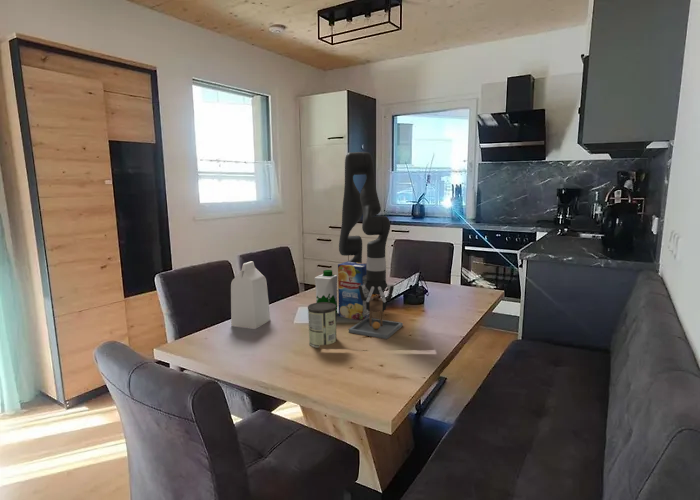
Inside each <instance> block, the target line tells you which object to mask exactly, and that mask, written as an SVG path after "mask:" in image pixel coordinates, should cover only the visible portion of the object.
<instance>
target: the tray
mask: <svg viewBox="0 0 700 500" xmlns="http://www.w3.org/2000/svg"><path fill="white" fill-rule="evenodd" d="M374 322H379V324H380V318H373V317H372V324H373V323H374ZM403 326H404V325H403V322H400V321H395V320H389V319H388V320H385V319H383V325H382V326H380V327H379V329H374V328H373V326H370V317H366V318H365V319H363V320H359V322H358V323H355V324H354V325H353V326H351V327H350V328H348V333H350V334H353V335H354V334H356V335H362V336H367V337H373V338H377V339H378V338H379V339H384V340H388V339H390V338H391V336H393V335H394V334H395V333H397V331H399V329H401V328H402V327H403Z"/></svg>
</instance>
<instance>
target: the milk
mask: <svg viewBox="0 0 700 500" xmlns="http://www.w3.org/2000/svg"><path fill="white" fill-rule="evenodd" d="M267 283H268V282H267V278H266V276H265V275H263V274H262V273H261V272H260V271H259V269H257V268H256V266H255V263H254V261H251V260H250V261H248V262H244V263H243V264H242V267H241V271H239V272H238V274H237V275H236V276H235V277H234V278H233V279H232V280H231V284H230V315H231V316H230V318H231V320H230V323H231V324H230V325H231V327H235V328H244V329H251V330H257V329H258V328H260V327H261V326H263V325H264V324H266V323H268V322H270V321H271V311H270V301H269V291H268V285H267Z"/></svg>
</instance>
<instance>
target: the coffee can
mask: <svg viewBox="0 0 700 500" xmlns="http://www.w3.org/2000/svg"><path fill="white" fill-rule="evenodd" d="M307 312H308V313H307V315H308V316H307V317H308V344H309V346H311V347H313V348H317V349H320V346H328V345H331V344H334V343H335V342H337V313H336V305H335V304H333V303H328V302H319V303H316V302H314V303H311V304H309V305H308V306H307Z"/></svg>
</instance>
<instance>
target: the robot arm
mask: <svg viewBox="0 0 700 500" xmlns="http://www.w3.org/2000/svg"><path fill="white" fill-rule="evenodd" d="M373 160H374V159H373V157H372V155H371V153H370V152H368V151H357V152H356V151H352V152H351V151H350V152H347V153H346V154H345V158H344V188H343V189H344V190H343V199H342V200H343V202H342V207H341V208H342V209H341V211H342V212H341V227H340V234H339V241H338V251H339V254H340V255H341V256H353V258H351V259H350V260H347V261H346V262H356V263H363V239H362V237H361V236H360V235H350V233H351V231H352V230H353V229H354V227H355V226H356V225H357V224H358V223H359V222H360V220H361V219H362V224H361V225H362V226H361V227H362V228H361V229H362V232H363V233H364V234H365V235H367V236H378V237H377V238H376V239H375V240H371V241H369V242H367V244H366V262H365V263H366V283H365V284H364V285H361V284H360V285H359V291H360V295H361V299H362V300H363V301H366V309H367V310H368V311H370V298H372V296H373V295H379V296H380V298H382V300H383V312H385V311H386V310H387V302H390V301H391V300H392V296H393V292H394V288H395V287H394V284H388V283H387V261H386V246H387V245H386V244H387V240H388V236H389V233H390V231H391V230H390V229H391V222H390V219H389V218H388V216H384V215H380V216H377V215H379V214H380V212H381V211H382V210H381V209H382V207H381V202H380V200H379V196H378V192H377V186H376V185H377V184H376V177H375V176H376V175H375V174H376V173H375V169H374V168H375V167H374V166H375V165H374V161H373ZM360 175H361V176H362V175H366V178H365V182H364V183H363V186H362V188H361V190H360V191H359V189H358V188H357V186H356V184H355V182H354V176H360ZM365 287H366V288H367V289H368V291H369V293H368V296H367V297H365V296H364V292H363V290H364V288H365ZM386 288H387V290H388V293H387V296H385V292H384V291H386Z"/></svg>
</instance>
